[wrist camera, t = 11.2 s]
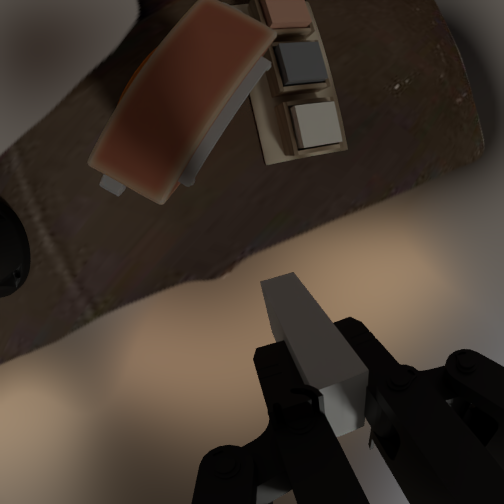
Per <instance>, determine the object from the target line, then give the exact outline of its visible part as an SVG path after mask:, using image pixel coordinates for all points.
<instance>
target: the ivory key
mask: <svg viewBox="0 0 504 504" xmlns="http://www.w3.org/2000/svg"><path fill="white" fill-rule="evenodd" d="M289 113H290V117H291V122H292V126H293V131H294V135H295V140H296V144H297V148H306V147H312V146H318V145H324V144H330V143H337V142H343V141H342V136H341V131H340V126H339V121H338V116H337V112H336V107H335V103H334V101H332V102H322V103H312V104H304V105H296V106H293V107H291V108H289Z"/></svg>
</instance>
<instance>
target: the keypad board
mask: <svg viewBox="0 0 504 504" xmlns="http://www.w3.org/2000/svg"><path fill="white" fill-rule="evenodd" d="M305 3H306V6H307V9H308V12H309V14H310V17H311V20H312V22H311V23H310V24H309V25H308V26H307V27H306V28H290V29H273V30H275V31H276V32H277V37H276V38H275V39H274V41H273V42H272V44H271V45H270V47H269V48H268V49H267V51H266V52H265V54H264V55H263V57H264V58H266V59H267V60H269V61H271V62H272V63H271V68H270V69H269V70H268V71H267V70H266V71H265V73H264V74H263V75H262V77H261V78H260V79H259V81H258V82H257V83H256V85H255V86H254V88H253V89H252V90H251V92H250V93H249V95H250V99H251V104H252V108H253V112H254V116H255V120H256V125H257V129H258V133H259V138H260V142H261V146H262V151H263V155H264V160H265V164H266V165H269V164H274V163H279V162H284V161H288V160H293V159H298V158H304V157H309V156H314V155H320V154H325V153H331V152H337V151H343V150H348V148H347V143H346V138H345V132H344V127H343V123H342V118H341V113H340V109H339V104H338V100H337V96H336V91H335V87H334V83H333V79H332V76H331V72H330V68H329V64H328V61H327V57H326V54H325V50H324V47H323V44H322V40H321V37H320V34H319V31H318V28H317V25H316V22H315V19H314V16H313V13H312V10H311V7H310V5H309V2H305ZM232 6H233V7H235V8H237V9H239V10H241V11H242V12H243V13H244V14H246V15H248V16H250V17H252V18H254V19H256V20H257V21H259V22H261V23H263V24H265V25H266V22H265V19H264V16H263V13H262V9H261V6H260V3H259V0H250V2H249V4H241V5H232ZM294 42H319V46H320V49H321V53H322V56H323V59H324V63H325V67H326V70H327V74H328V78H327V79H326V80H324V81H322V82H320V83H316V84H305V85H295V86H287V87H283V84H282V80H281V76H280V72H279V68H278V65H277V61H276V57H275V54H274V49H275V48H276V46H277V45H278V44H279V43H294ZM267 69H268V68H267ZM332 101H334V103H335V107H336V112H337V116H338V121H339V126H340V131H341V136H342V141H343V142H337V143H330V144H324V145H318V146H312V147H306V148H297V144H296V140H295V135H294V131H293V126H292V122H291V117H290V113H289V108H291V107H293V106H296V105H304V104H312V103H322V102H332Z"/></svg>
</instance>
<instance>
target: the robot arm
mask: <svg viewBox="0 0 504 504" xmlns="http://www.w3.org/2000/svg"><path fill="white" fill-rule="evenodd" d="M29 269H30V248H29V243H28V239H27V236H26V233H25V230H24V228H23V226H22V224H21V222H20V220H19V219H18V217H17V216H16V215H15V213H14V212H13V211H12V210H11V209H10V208H8V207H7V206H6V205H4V204H2V203H0V298H1V297H5V296H9V295H11V294H13V293H14V292H15V291H16V290H17V289H19V288H20V287H21V286H22V285H23V284H24V282H25V280H26V278H27V276H28V273H29ZM260 283H261V287H262V291H263V296H264V300H265V304H266V308H267V313H268V317H269V320H270V325H271V329H272V333H273V335H274V337H275V340H276V343H273V344H270V345H266V346H262V347H259V348H257V349H256V351H255V354H254V358H253V361H254V364H255V367H256V371H257V375H258V378H259V381H260V385H261V388H262V391H263V395H264V399H265V402H266V405H267V409H268V415H269V424H268V426H267V428H266V430H265V431H264V432H263V433H262V435H261V436H259V437H258V438H257V439H255V440H254V441H252V442H250V443H248V444H246V445H245V446H243V447H239V446H233V445H225V446H219V447H217V448H215V449H213V450H211V451H209V452H208V453H207V454H206V455H205V456H204V457H203V459H202V461H201V463H200V465H199V470H198V475H197V480H196V484H195V489H194V494H193V499H192V504H273V501H274V500H275V499H277V498H279V497H280V496H282V495H284V494H286V493H287V492H289V491H290V490H292V489H293V492H294V495H295V498H296V501H297V504H370V503H369V502H368V499H367V497H366V495H365V494H364V491H363V490H362V487H361V485H360V483H359V482H358V479H357V477H356V476H355V473H354V471H353V469H352V468H351V465H350V464H349V461H348V459H347V458H346V455H345V453H344V451H343V449H342V447H341V445H340V443H339V441H338V440H337V437H339V436H341V435H344V434H346V433H349V432H351V431H354V430H356V429H358V428H360V427H363V426H364V422H365V418H366V419H367V421H368V423H369V424H370V425H371V433H370V439H369V448H370V449H373V446H374V443H375V445H376V447H377V448H378V450H379V452H380V453H381V455H382V457H383V459H384V460H385V462H386V464H387V465H388V467H389V469H390V470H391V472H392V474H393V476H394V477H395V479H396V481H397V482H398V484H399V486H400V487H401V489H402V491H403V493H404V495H405V496H406V498H407V500H408V501H409V503H410V504H504V367H503V366H501V365H500V364H498V363H496V362H494V361H492V360H490V359H489V358H487V357H485V356H483V355H481V354H480V353H478V352H475V351H473V350H470V349H461V350H458V351H455V352H453V353H452V354H451V355H449V357H448V359H447V360H446V364H445V366H442V367H438V368H434V369H430V370H425V371H418V370H416V369H415V368H414V367H412V366H408V365H400V364H399V363H398V362H397V361H396V360H395V359H394V357H393V356H392V355H391V354H390V353H389V352H388V351H387V350H386V349H385V347H384V346H383V345H382V344H381V343H380V342H379V341H378V340H377V339H376V338H375V336H374V335H373V334H372V333H371V332H369V330H368V329H367V328H366V327H365V325H364V324H363V323H362V322H360V321H358V320H356V319H354V318H352V317H348V318H345V319H342V320H340V321H337V322H334V323H333V322H332V321H331V320H330V319H329V317H328V316H327V315H326V313H325V312H324V311H323V309H322V308H321V307H320V306H319V304H318V303H317V302H316V300H315V299H314V298H313V296H312V295H311V294H310V293H309V291H308V290H307V289H306V288H305V286H304V285H303V284H302V283H301V281H300V280H299V279H298V277H297V276H296V275H295V274H294V272H292V273H289V274H285V275H282V276H278V277H275V278H272V279H268V280H264V281H261V282H260Z"/></svg>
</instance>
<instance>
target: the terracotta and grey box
mask: <svg viewBox="0 0 504 504" xmlns="http://www.w3.org/2000/svg"><path fill="white" fill-rule="evenodd" d="M276 37H277V32H276V31H275V30H273V29H271V28H270V27H268V26H266V25H265V24H263V23H261V22H259V21H257V20H256V19H254V18H252V17H250V16H248V15H246V14H244V13H243V12H242V11H241V10H239V9H237V8H235V7H233V6H231V5H228V4H226V3H224V2H220V1H218V0H198V1H197V2H196V3H195V4H194V5H193V6H192V7H191V8H190V9H189V10H188V11H187V13H186V14H185V15H184V16H183V17H182V18H181V19H180V20H179V22H178V23H177V24H176V25H175V26H174V27H173V29H172V30H171V31H170V32H169V33H168V35H167V36H166V37H165V38H164V40H163V41H162V42H161V43H160V45H159V46H158V47H156V48H155V49H154V50H153V51H152V52H151V53H150V54H149V55H148V56H147V57H146V58H145V60H144V61H143V62H142V63H141V65H140V66H139V67H138V68H137V70H136V71H135V72H134V74H133V75H132V77H131V79H130V80H129V82H128V84H127V85H126V87H125V89H124V91H123V93H122V95H121V97H120V100H119V102H118V104H117V107H116V109H115V110H114V112H113V114H112V116H111V117H110V119H109V121H108V123H107V124H106V126H105V128H104V130H103V132H102V133H101V135H100V137H99V139H98V141H97V143H96V145H95V147H94V149H93V151H92V153H91V155H90V157H89V159H88V164H89V166H91V167H92V168H94V169H96V170H98V171H100V172H101V173H103V175H102V177H101V181H100V183H99V184H100V186H101V187H102V188H104V189H106V190H108V191H110V192H111V193H113V194H115V195H117V196H120V195H121V194H122V192H123V191H124V190H125V189H126V186H127V187H128V188H130V189H132V190H134V191H136V192H137V193H139V194H141V195H143V196H145V197H146V198H148V199H150V200H152V201H154V202H155V203H157V204H160V205H163V204H164V203H165V202H166V201H167V199H168V198H169V197H170V196H171V194H172V193H173V192H174V191H175V190H176V188H177V187H178V186H179V185H180V183H182V184H184V185H185V186H187V187H189V186H190V185H193V184H194V182H195V176H196V175H197V173H198V171H199V170H200V168H201V166H202V165H203V163H204V161H205V160H206V158H207V157H208V155H209V153H210V152H211V150H212V149H213V147H214V145H215V144H216V142H217V141H218V139H219V138H220V136H221V134H222V133H223V131H224V130H225V128H226V127H227V125H228V124H229V122H230V121H231V119H232V118H233V116H234V115H235V113H236V112H237V110H238V109H239V108H240V106H241V105H242V103H243V102H244V100H245V99H246V97H247V96H248V95H249V93H250V92H251V90H252V89H253V88H254V86H255V85H256V83H257V82H258V81H259V79H260V78H261V77H262V75H263V74H264V73H265V71H266V70H267V71H268V70H269V69H270V68H271V63H272V62H271V61H269V60H267V59H266V58H264V57H263V55H264V54H265V52H266V51H267V49H268V48H269V47H270V45H271V44H272V42H273V41H274V39H275V38H276ZM267 68H268V69H267Z"/></svg>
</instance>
